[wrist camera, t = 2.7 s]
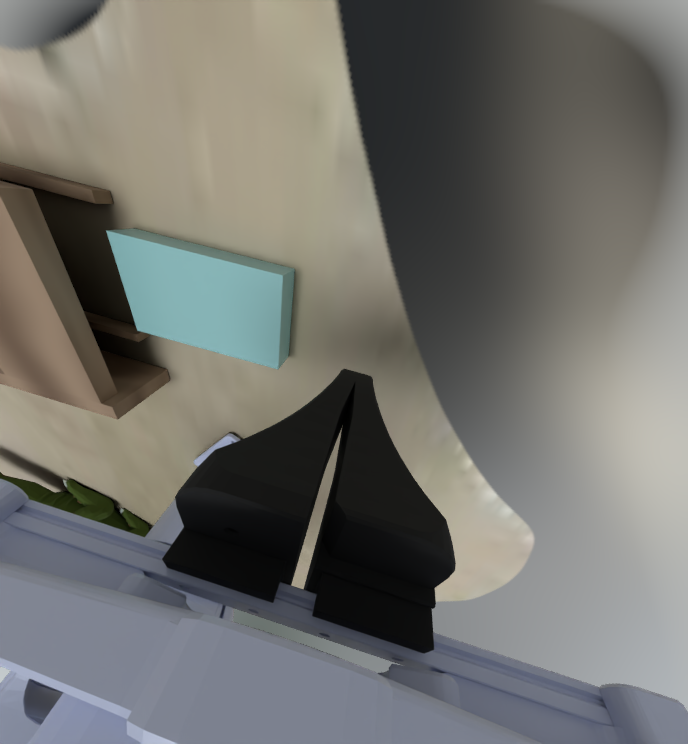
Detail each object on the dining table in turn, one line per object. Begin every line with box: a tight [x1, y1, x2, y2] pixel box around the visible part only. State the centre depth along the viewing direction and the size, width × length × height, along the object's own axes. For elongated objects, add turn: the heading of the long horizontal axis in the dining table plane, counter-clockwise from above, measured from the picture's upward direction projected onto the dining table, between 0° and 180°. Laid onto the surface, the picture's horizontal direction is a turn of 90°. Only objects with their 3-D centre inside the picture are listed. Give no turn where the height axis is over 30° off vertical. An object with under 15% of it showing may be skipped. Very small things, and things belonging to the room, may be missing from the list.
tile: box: [106, 228, 295, 369], centre depth 16 cm, size 10×6×2 cm, turn 79°
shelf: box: [0, 163, 170, 419], centre depth 16 cm, size 9×13×5 cm
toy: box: [0, 472, 149, 537], centre depth 39 cm, size 12×44×10 cm, turn 44°
